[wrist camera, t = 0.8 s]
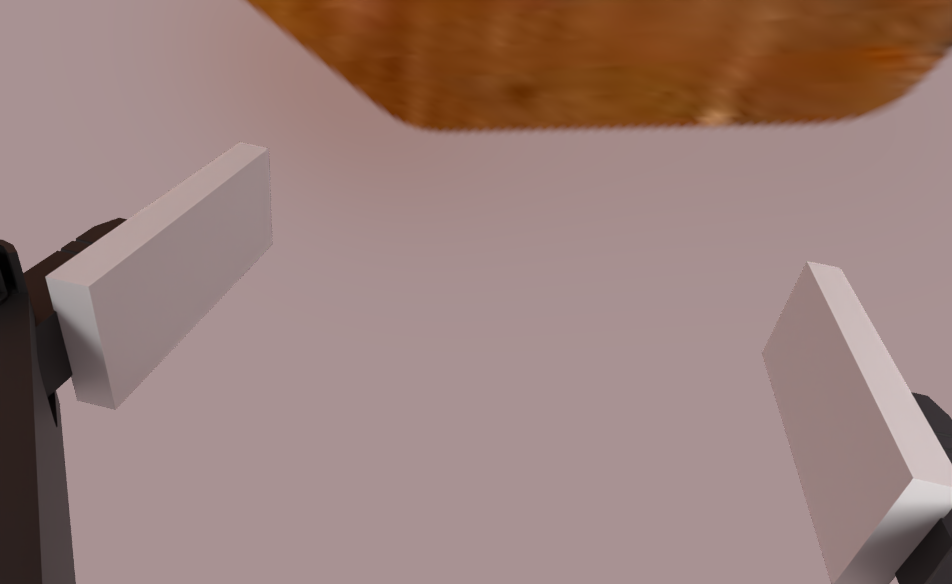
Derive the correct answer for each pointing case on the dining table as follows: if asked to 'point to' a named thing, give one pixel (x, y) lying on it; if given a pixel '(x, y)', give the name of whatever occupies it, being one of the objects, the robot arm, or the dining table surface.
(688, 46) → the dining table surface
